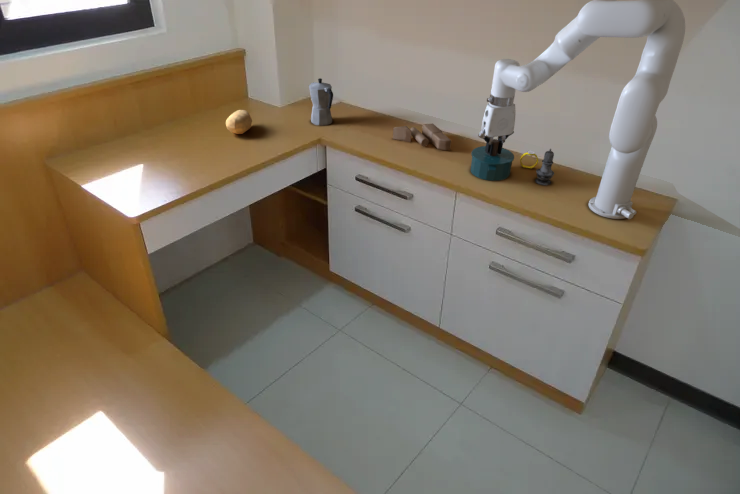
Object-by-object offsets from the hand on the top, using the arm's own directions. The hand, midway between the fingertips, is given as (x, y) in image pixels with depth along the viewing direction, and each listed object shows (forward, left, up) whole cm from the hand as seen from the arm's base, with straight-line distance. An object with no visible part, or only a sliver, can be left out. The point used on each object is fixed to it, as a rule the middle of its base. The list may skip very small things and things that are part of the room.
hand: (493, 152), depth 175 cm
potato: (+62, +78, -7) cm, 100 cm away
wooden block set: (+29, +14, -7) cm, 33 cm away
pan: (0, 0, -7) cm, 7 cm away
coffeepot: (+62, +44, -7) cm, 76 cm away
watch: (-1, -15, -7) cm, 16 cm away
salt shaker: (-12, -13, -7) cm, 20 cm away
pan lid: (0, 0, -1) cm, 1 cm away
